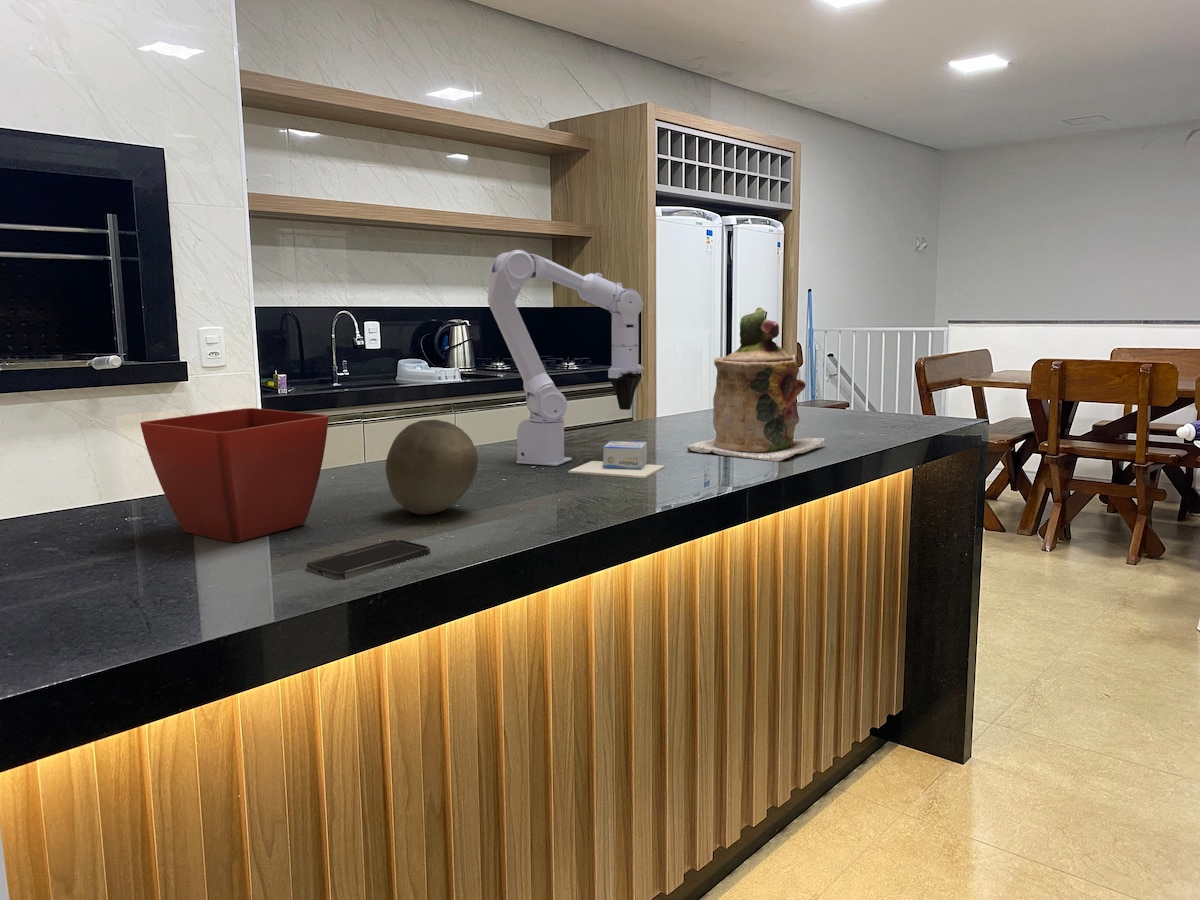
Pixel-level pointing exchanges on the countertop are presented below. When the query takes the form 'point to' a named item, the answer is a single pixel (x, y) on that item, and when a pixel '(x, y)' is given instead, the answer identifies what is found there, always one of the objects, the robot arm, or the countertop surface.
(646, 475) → the mat
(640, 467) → the medicine box
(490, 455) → the countertop surface
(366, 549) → the phone
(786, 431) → the cookie jar
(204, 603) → the countertop surface
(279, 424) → the plant pot
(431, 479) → the cantaloupe
